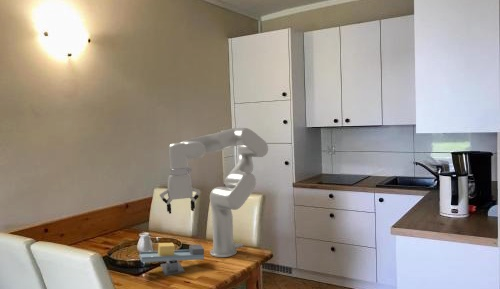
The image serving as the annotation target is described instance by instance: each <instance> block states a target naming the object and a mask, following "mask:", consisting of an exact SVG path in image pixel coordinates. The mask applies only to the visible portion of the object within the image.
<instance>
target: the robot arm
mask: <svg viewBox="0 0 500 289" xmlns="http://www.w3.org/2000/svg"><path fill="white" fill-rule="evenodd" d="M236 146H237V151H238V152H237V153H238V161H237V162H236V164H235V166H234V167H233V168H232V170H231V171H230V172H229V173H228V175H227V176H226V177H225V179H224V185H225V186H217V187H214V188H213V189H212V190H211V191H210V194H209V202H210V207H211V215H212V216H211V217H212V243H213V244H212V249H211V250H210V251H209V253H210V256H212V257H215V258H229V257H232V256H235V255H236V254H237V253H238V252H237V251H238V250H237V249H239V248H243V247H244V244H243V243H242V242H241V243H239V242H234V228H233V227H234V225H233V224H234V223H233V222H234V220H233V212H232V210H233V211H234V210H235V211H236V210H239V209H240V208H242V207H243V205H244V204H245V203H246V202H247V200H248V198H249V197H250V195H252V193H253V192H254V191H255V188H256V184H257V178H256V176H255V175H254V174H253V173H252V172H253V171H254V163H253V162H254V161H253V158H263V157H265V156H266V155H267V154H268V151H269V146H268V143H267V142H266V140H264V139H263V138H262V137H261V136H259V134H257V133H256V132H254V131H253V130H252V129H250V128H247V127H233V128H229V129H225V130H223V131H218V132H215V133H210V134H206V135H202V136H198V137H192V138H190V139H189V138H188V139H186V140H183V141H180V142H174V143H170V144H169V145H168V150H169V153H168V154H169V169H170V170H169V171H170V172H169V173H170V175H168V178H167V189H166V190H164V191H162V192H161V193H159V196H160V198H161V200H162V202H164V203H165V204H166V211H167V212H168V214H172V204H171V202H172V201H173V200H182V199H183V200H185V199H190V210H191V211H192V212H195V209H196V204H195V203H196V200H197V199H198V198H199V196H200V194H201V190H200V189H197V188H195V187H193V185H192V178H191V175H190V172H192V168H189V162H188V160H190V159H194V160H197V159H201V158H203V157H204V156H205V155H206V153H216V152H222V151H223V150H228V149H230V148H234V147H236ZM193 192H195V195H193V194H194V193H193ZM166 195H167V197H168V198H167V199H166V198H165V196H166Z"/></svg>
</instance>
